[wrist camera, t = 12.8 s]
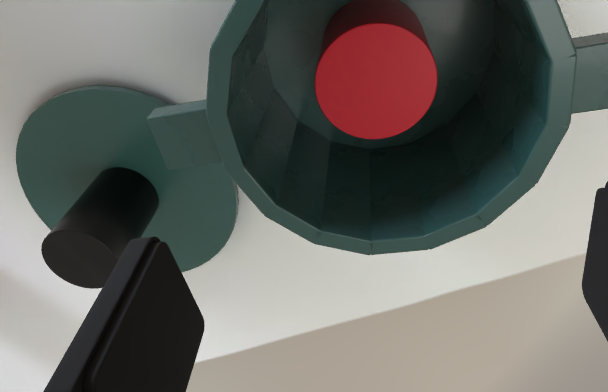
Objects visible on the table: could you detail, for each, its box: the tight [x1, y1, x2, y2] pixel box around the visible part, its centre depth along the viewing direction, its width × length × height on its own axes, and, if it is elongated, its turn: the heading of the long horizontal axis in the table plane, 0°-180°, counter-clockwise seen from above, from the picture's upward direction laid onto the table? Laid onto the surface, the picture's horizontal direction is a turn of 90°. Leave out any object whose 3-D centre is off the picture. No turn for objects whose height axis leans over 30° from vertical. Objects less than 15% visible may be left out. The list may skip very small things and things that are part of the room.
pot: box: [147, 0, 608, 255], centre depth 20 cm, size 13×18×8 cm
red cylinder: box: [315, 0, 438, 139], centre depth 22 cm, size 5×5×5 cm
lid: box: [16, 86, 238, 288], centre depth 27 cm, size 14×14×7 cm
